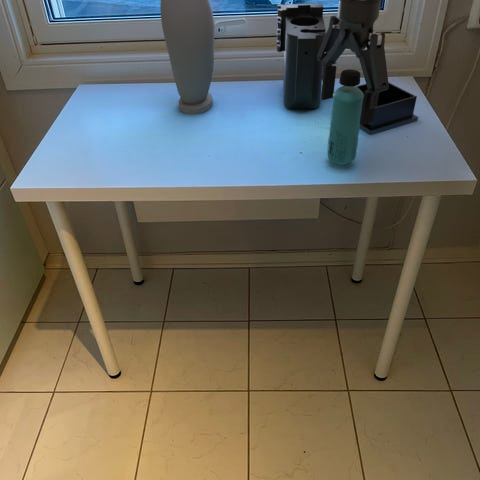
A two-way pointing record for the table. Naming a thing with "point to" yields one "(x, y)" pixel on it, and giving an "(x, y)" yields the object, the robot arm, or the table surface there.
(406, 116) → the square planter
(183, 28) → the vase
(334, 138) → the beverage bottle
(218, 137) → the table surface
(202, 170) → the table surface
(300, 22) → the black machined bracket
